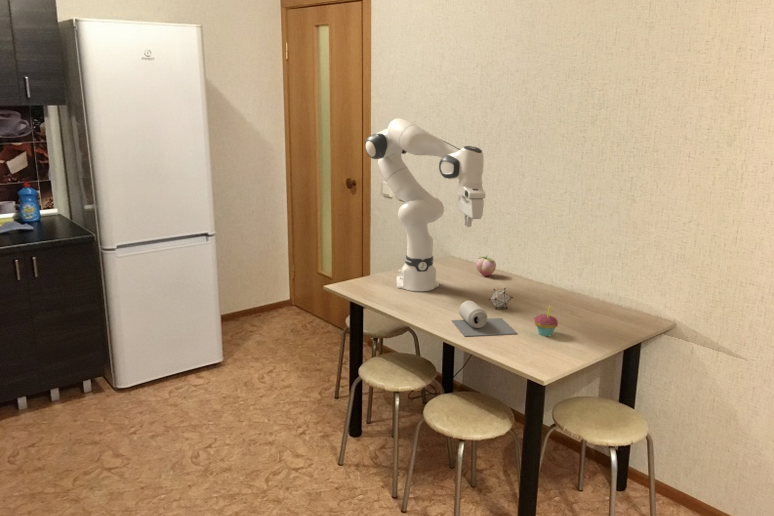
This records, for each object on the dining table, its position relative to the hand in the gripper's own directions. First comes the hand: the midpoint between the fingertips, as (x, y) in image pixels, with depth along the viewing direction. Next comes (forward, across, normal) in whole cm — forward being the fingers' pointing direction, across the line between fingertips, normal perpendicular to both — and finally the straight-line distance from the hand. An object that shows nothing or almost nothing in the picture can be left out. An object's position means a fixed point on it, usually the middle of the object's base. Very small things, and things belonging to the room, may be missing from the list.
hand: (467, 226), depth 250 cm
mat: (+34, +19, +2) cm, 39 cm away
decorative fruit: (+34, -45, +26) cm, 62 cm away
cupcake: (+34, +28, +22) cm, 49 cm away
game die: (+34, -1, +16) cm, 38 cm away
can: (+30, +10, -2) cm, 32 cm away
